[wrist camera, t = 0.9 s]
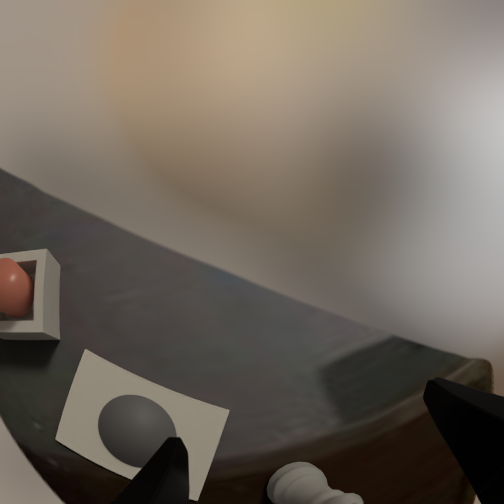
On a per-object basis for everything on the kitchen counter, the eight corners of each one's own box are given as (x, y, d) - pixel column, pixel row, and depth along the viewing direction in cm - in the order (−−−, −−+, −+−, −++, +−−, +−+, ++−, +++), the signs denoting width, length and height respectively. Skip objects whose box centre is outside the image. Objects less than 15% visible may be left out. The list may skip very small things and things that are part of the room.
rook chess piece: (314, 502, 14) (373, 536, 7) (261, 507, 13) (304, 555, 6) (321, 457, 16) (387, 480, 9) (267, 461, 15) (318, 497, 8)
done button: (34, 317, 14) (18, 308, 12) (-1, 318, 13) (-18, 308, 10) (36, 269, 15) (22, 255, 13) (3, 272, 14) (-12, 259, 12)
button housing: (60, 339, 15) (43, 332, 13) (3, 339, 14) (-17, 331, 11) (60, 265, 18) (46, 248, 15) (7, 270, 16) (-10, 255, 13)
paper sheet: (228, 410, 17) (229, 410, 16) (197, 499, 13) (197, 501, 12) (86, 349, 16) (84, 348, 16) (56, 438, 12) (54, 439, 11)
